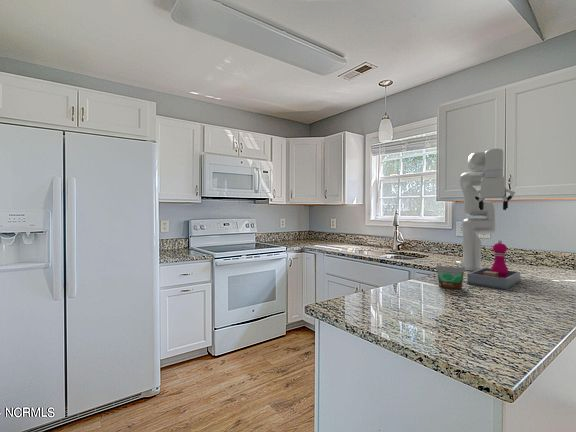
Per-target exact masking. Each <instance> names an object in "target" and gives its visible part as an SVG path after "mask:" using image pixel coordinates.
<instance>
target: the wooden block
mask: <svg viewBox="0 0 576 432" xmlns="http://www.w3.org/2000/svg"><path fill="white" fill-rule="evenodd" d="M483 275H484V276H491V277H498V272H491V271H485V272H483Z"/></svg>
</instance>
